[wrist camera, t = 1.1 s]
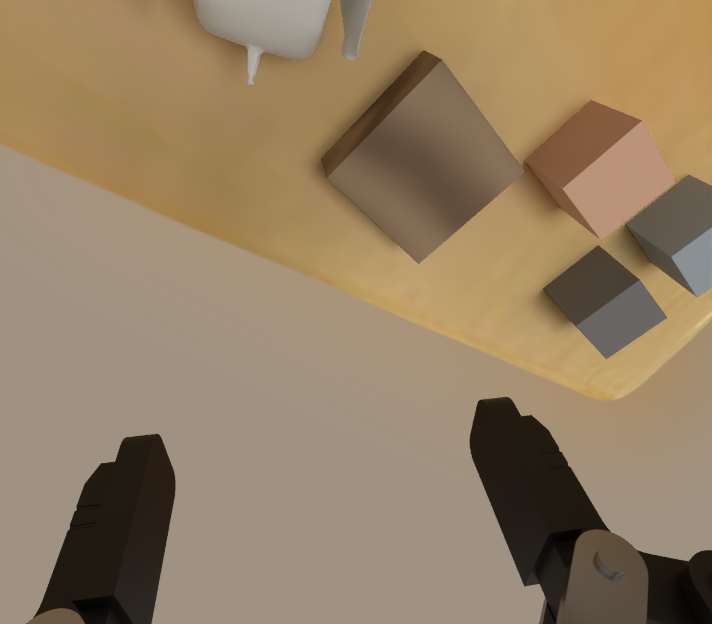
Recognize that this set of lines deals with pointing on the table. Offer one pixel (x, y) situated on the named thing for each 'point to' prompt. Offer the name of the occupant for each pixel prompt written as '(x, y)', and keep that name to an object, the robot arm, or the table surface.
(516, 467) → the robot arm
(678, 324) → the table surface
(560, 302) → the charcoal cube
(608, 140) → the terracotta cube
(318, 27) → the elephant figurine
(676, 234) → the slate cube
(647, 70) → the table surface
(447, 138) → the walnut base
